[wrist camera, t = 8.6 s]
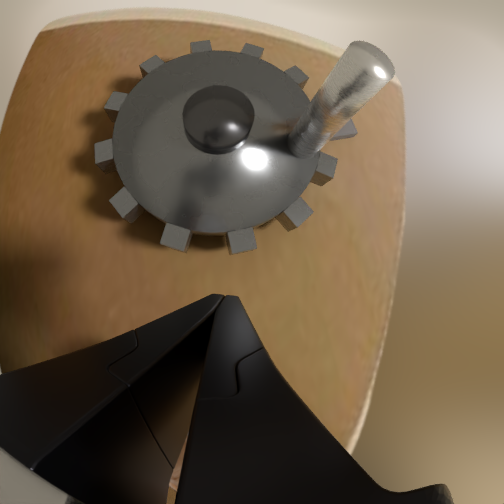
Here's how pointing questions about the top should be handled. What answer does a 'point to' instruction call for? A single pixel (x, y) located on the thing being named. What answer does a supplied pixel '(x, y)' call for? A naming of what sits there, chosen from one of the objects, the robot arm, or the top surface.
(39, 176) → the top surface
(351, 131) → the rounded peg on base
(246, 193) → the sprocket
